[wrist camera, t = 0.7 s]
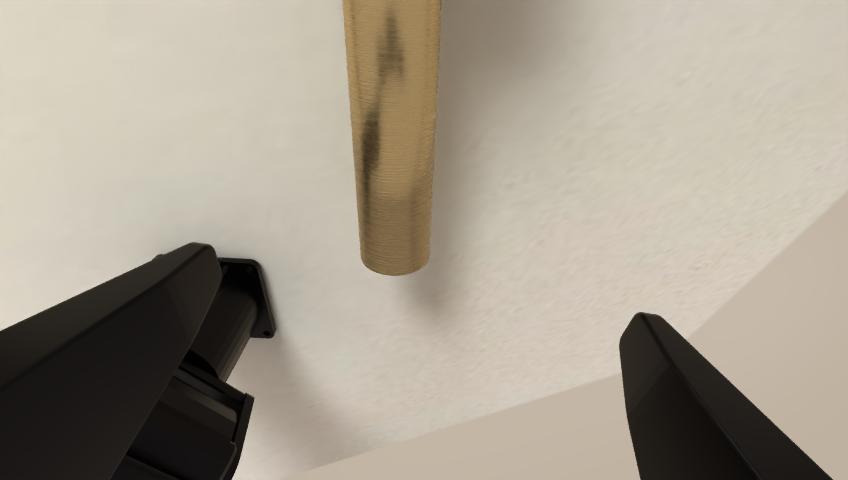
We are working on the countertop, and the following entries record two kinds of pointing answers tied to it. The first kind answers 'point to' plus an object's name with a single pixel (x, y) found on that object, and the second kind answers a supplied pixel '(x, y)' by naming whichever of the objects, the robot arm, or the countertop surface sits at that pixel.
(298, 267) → the countertop surface
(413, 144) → the tube
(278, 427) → the countertop surface
